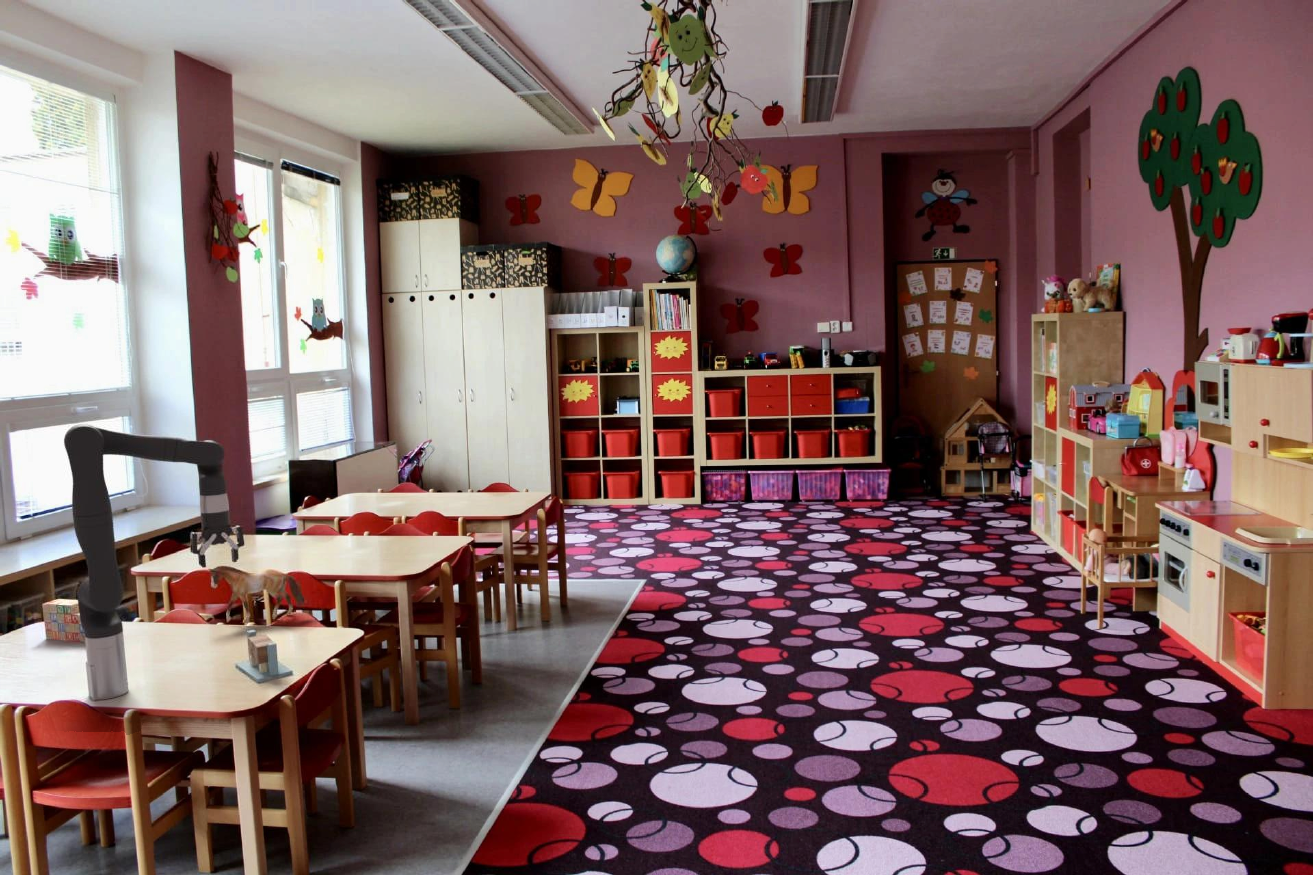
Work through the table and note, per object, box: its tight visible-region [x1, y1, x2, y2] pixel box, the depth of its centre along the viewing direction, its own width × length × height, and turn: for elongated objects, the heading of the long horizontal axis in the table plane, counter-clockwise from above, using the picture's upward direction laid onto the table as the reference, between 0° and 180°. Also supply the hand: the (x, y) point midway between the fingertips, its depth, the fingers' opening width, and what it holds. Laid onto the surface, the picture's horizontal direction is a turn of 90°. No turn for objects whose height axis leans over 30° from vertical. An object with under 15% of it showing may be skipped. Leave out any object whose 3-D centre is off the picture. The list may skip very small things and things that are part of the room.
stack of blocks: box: [42, 598, 85, 643], centre depth 324 cm, size 21×6×12 cm, turn 72°
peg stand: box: [234, 629, 294, 683], centre depth 286 cm, size 10×19×10 cm, turn 41°
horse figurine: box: [207, 565, 308, 624], centre depth 339 cm, size 31×8×21 cm, turn 104°
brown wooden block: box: [247, 633, 274, 664], centre depth 286 cm, size 12×5×5 cm, turn 35°
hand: (219, 564), depth 284 cm, fingers open, 8 cm apart
